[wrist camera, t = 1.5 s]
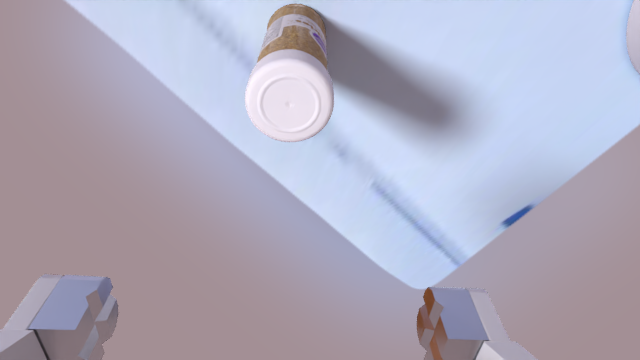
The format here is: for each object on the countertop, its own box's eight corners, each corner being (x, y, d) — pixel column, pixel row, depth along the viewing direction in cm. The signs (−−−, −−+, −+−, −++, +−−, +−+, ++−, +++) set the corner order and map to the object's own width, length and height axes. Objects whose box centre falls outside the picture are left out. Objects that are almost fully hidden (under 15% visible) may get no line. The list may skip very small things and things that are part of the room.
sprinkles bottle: (337, 31, 32) (353, 103, 21) (298, 74, 34) (293, 160, 23) (292, -13, 30) (284, 40, 19) (253, 34, 32) (224, 107, 21)
